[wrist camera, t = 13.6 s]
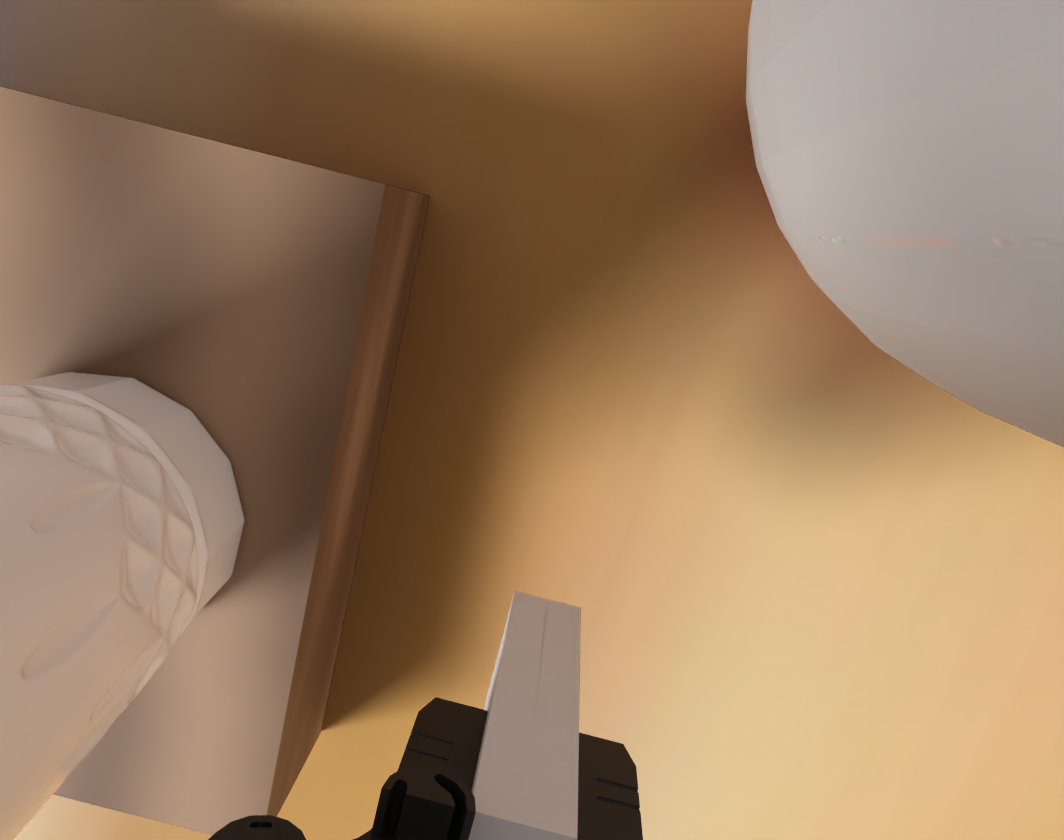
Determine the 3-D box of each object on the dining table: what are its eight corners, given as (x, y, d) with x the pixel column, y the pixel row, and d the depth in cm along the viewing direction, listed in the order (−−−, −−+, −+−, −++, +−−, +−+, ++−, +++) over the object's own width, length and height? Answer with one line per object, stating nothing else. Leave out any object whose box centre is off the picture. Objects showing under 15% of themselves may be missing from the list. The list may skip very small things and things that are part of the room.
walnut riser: (-21, 644, 26) (-161, 739, 21) (18, 91, 21) (-147, 49, 17) (320, 732, 26) (260, 847, 21) (429, 196, 21) (385, 184, 16)
